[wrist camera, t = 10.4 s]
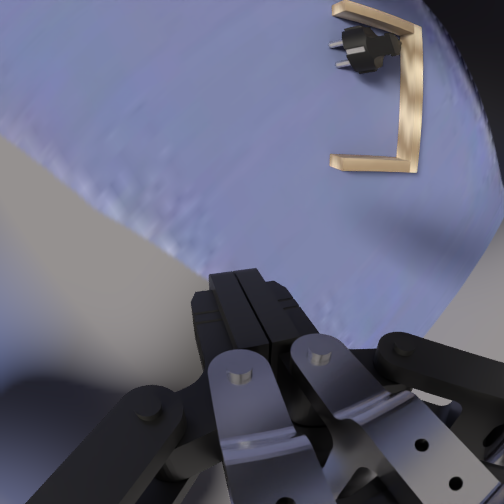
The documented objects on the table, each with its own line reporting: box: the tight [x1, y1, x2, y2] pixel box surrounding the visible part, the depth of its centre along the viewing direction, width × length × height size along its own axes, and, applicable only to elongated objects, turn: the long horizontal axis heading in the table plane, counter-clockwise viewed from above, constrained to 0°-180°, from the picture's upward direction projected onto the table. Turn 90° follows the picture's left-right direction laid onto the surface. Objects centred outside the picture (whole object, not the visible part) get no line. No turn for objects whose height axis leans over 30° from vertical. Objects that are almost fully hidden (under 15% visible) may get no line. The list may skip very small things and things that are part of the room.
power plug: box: [328, 26, 402, 74], centre depth 30 cm, size 6×8×12 cm
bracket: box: [330, 0, 423, 173], centre depth 33 cm, size 21×12×3 cm, turn 179°
